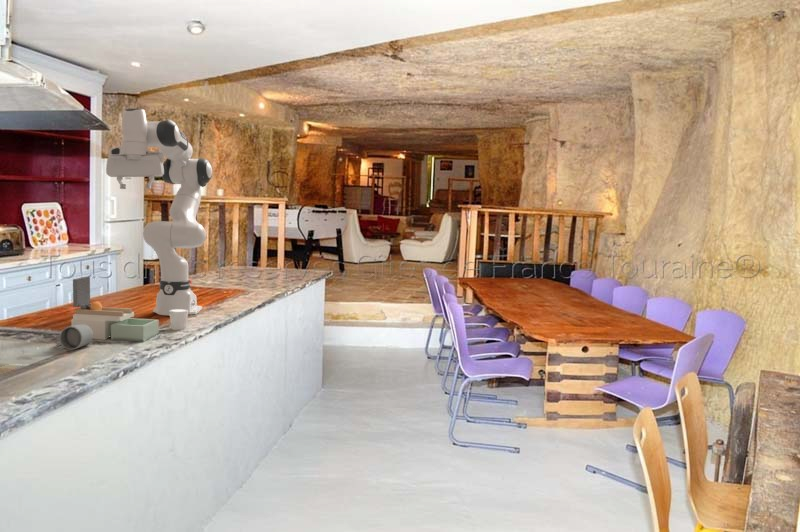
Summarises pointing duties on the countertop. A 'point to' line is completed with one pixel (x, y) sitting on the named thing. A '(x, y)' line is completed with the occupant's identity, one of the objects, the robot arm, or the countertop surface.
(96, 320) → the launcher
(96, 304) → the ball
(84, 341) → the grey tipped cup
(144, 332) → the sage green tray
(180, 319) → the white tapered cup
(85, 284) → the gray upright panel
